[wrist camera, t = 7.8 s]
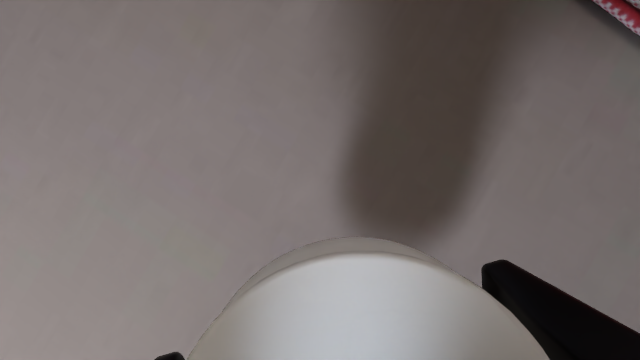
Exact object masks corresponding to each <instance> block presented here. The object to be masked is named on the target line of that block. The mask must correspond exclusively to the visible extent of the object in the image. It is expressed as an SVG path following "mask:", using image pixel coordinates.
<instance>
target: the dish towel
mask: <svg viewBox="0 0 640 360" xmlns="http://www.w3.org/2000/svg"><path fill="white" fill-rule="evenodd" d="M592 1H593V2H595V3H596V4H597V5H599V6H600V7H601V8H603V9H604V10H606V11H607V12H608V13H610V14H611V15H612V16H614V17H615V18H616V19H618V20H619V21H620V22H622V23H623V24H624V25H625V26H626V27H628V28H629V29H631V30H632V31H633V32H634V33H636V34H638V35H639V36H640V0H592Z"/></svg>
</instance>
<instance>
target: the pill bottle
mask: <svg viewBox="0 0 640 360" xmlns="http://www.w3.org/2000/svg"><path fill="white" fill-rule="evenodd" d="M187 360H550V359H549V358H548V356H547V355H546V353H545V352H544V350H543V348H542V347H541V346H540V345H539V343H538V342H537V341H536V340H535V338H534V337H533V336H532V335H531V333H530V332H529V331H528V330H527V329H526V328H525V327H524V325H523V324H522V323H521V322H520V321H519V320H518V319H517V318H516V317H515V316H514V315H513V314H512V312H511V311H509V310H508V309H507V308H506V307H504V306H503V305H502V304H501V303H500V302H498V301H497V300H496V299H495V298H494V297H492V296H491V295H490V294H489V293H488V292H486V291H485V290H484V289H482V288H481V287H479V286H478V285H476V284H474V283H473V282H471V281H469V280H468V279H466V278H464V277H462V276H461V275H459V274H457V273H456V272H454V271H453V270H452V269H450V268H449V267H447V266H446V265H444V264H443V263H441V262H440V261H438V260H437V259H435V258H433V257H431V256H429V255H427V254H425V253H423V252H421V251H419V250H417V249H414V248H411V247H409V246H406V245H403V244H400V243H397V242H393V241H389V240H384V239H378V238H368V237H343V238H334V239H327V240H323V241H318V242H314V243H311V244H308V245H305V246H302V247H300V248H297V249H295V250H292V251H290V252H288V253H286V254H284V255H282V256H280V257H279V258H277V259H275V260H274V261H272V262H271V263H269V264H268V265H266V266H265V267H264V268H262V269H261V270H260V271H259V272H257V273H256V274H255V275H254V276H252V277H251V278H250V279H249V280H248V281H247V282H246V283H245V284H244V285H243V286H242V287H241V288H240V289H239V290H238V292H237V293H236V294H235V295H234V296H233V298H232V299H231V300H230V302H229V303H228V304H227V306H226V307H225V308H224V310H223V311H222V313H221V314H220V315H219V316H218V317H217V318H216V319H215V320H214V321H213V323H212V324H211V325H210V326H209V328H208V329H207V330H206V331H205V333H204V334H203V335H202V337H201V338H200V340H199V341H198V343H197V345H196V346H195V348H194V349H193V351H192V352H191V354H190V355H189V357H188V359H187Z"/></svg>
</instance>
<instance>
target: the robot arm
mask: <svg viewBox="0 0 640 360" xmlns="http://www.w3.org/2000/svg"><path fill="white" fill-rule="evenodd" d="M482 289H484V290H485V291H486V292H488V293H489V294H490V295H491V296H492V297H494V298H495V299H496V300H497V301H498V302H500V303H501V304H502V305H503V306H504V307H506V308H507V309H508V310H509V311H511V312H512V314H513V315H514V316H515V317H516V318H517V319H518V320H519V321H520V322H521V323H522V324H523V325H524V327H525V328H526V329H527V330H528V331H529V332H530V333H531V335H532V336H533V337H534V338H535V340H536V341H537V342H538V343H539V345H540V346H541V347H542V348H543V350H544V352H545V353H546V355H547V356H548V358H549V359H550V360H640V334H639V333H638V332H636V331H634V330H632V329H630V328H629V327H627V326H625V325H623V324H621V323H619V322H618V321H616V320H614V319H612V318H610V317H609V316H607V315H605V314H603V313H601V312H600V311H598V310H596V309H594V308H592V307H591V306H589V305H587V304H585V303H583V302H581V301H580V300H578V299H576V298H574V297H572V296H571V295H569V294H567V293H565V292H563V291H562V290H560V289H558V288H556V287H554V286H553V285H551V284H549V283H547V282H545V281H543V280H542V279H540V278H538V277H536V276H534V275H533V274H531V273H529V272H527V271H525V270H524V269H522V268H520V267H518V266H516V265H514V264H513V263H511V262H509V261H507V260H498V261H494V262H491V263H487V264H485V265H483V267H482ZM155 360H185V359H184V358H183V356H182V355H181V354H180V353H179V352H173V353H169V354H166V355H162V356H159V357H157V358H156V359H155Z"/></svg>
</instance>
